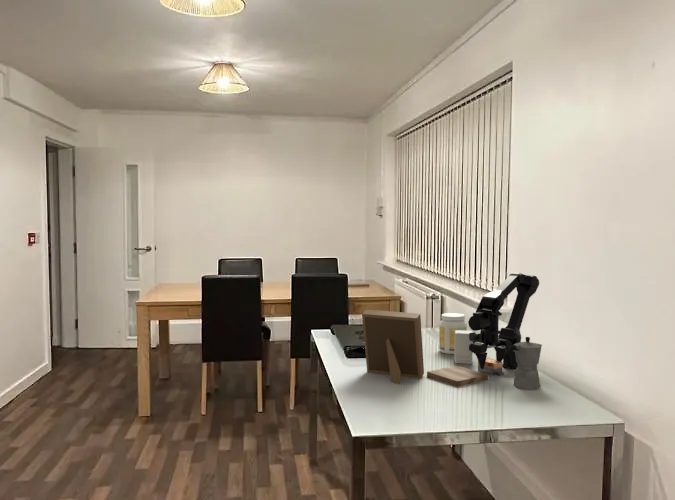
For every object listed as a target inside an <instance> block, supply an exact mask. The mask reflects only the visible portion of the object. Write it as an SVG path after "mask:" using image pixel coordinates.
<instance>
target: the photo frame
mask: <svg viewBox="0 0 675 500" xmlns="http://www.w3.org/2000/svg"><path fill="white" fill-rule="evenodd" d="M421 316H422V315H421V313H418V312H416V313H414V312H406V311H405V312H403V311H402V312H400V311H393V310H392V311H391V310H379V309H378V310H376V309H365V310H364V311H363V312H362V313H361V318H362V329H363V341H364V342H363V343H365V349H364V350H365V363H366V364H365V365H366V371H367V373H371V374H372V373H373V374H374V373H375V374H381V375H388V376H390V382H392V383H394V384H397V385H400V382H401V377H403V378H413V379H420V380H421V379H422V378H423V376H424V374H425V368H424V366H425V364H424V352H423V351H424V349H423V336H422V335H423V334H422V333H423V331H422V319H421Z"/></svg>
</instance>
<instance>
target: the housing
mask: <svg viewBox="0 0 675 500" xmlns="http://www.w3.org/2000/svg"><path fill="white" fill-rule="evenodd" d="M502 364H503V361H502V362H501V361H497V360H496V359H493V358H488V357H486V361H485V366H484V369H481V368H480V365H479V362H478V361H477V372H481V373H484V374H488V375H491V376H498V377H504V376H505V372H504V371H503V366H502Z"/></svg>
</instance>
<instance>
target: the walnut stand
mask: <svg viewBox="0 0 675 500" xmlns="http://www.w3.org/2000/svg"><path fill="white" fill-rule="evenodd" d="M426 378H430V379H432V380H436V381H439V382H442V383H445V384H447V385H451V386H454V387H457V388H458V387H463V386H469V385H472V384H477V383H481V382H485V381H489V374H486V373H483V372H479V371H478V370H477V371H476V370H475V369H474V370H473V369H470V368H467V367H463V366H460V365H453V366H449V367H442V368H439V369H433V370H428V371H426Z"/></svg>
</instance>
